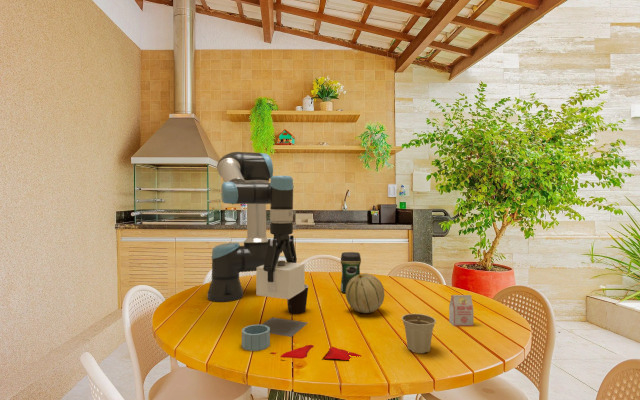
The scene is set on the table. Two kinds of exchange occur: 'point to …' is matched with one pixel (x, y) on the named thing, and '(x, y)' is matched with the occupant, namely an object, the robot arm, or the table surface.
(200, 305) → the table surface
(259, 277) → the cover
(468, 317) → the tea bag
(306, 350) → the cloth
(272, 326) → the mat
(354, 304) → the cantaloupe
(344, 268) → the coffee jar
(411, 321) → the flower pot
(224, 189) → the robot arm
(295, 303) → the coffee mug
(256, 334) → the bowl
